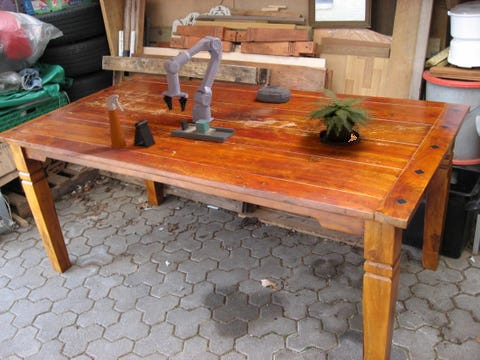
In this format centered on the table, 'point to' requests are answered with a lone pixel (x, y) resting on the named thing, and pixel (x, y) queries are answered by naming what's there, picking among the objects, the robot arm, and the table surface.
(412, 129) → the table surface
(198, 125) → the block
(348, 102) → the fern plant
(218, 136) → the channel
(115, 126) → the spray bottle
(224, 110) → the table surface
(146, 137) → the phone stand
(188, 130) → the sliding plate with handle
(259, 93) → the soft grey pack
